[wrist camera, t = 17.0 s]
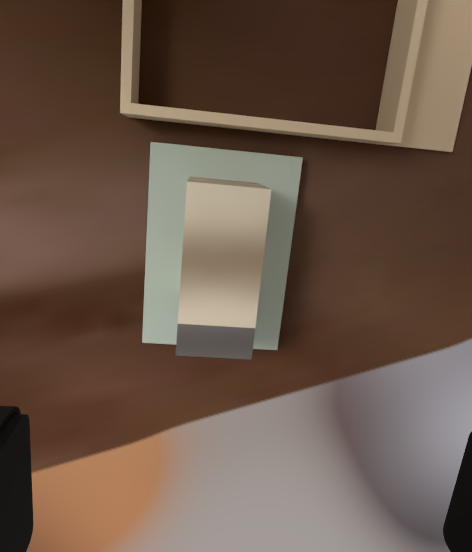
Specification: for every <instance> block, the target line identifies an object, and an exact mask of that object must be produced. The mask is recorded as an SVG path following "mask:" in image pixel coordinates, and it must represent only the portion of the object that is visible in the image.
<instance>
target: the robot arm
mask: <svg viewBox="0 0 472 552" xmlns="http://www.w3.org/2000/svg"><path fill="white" fill-rule="evenodd" d="M32 531H33V505H32V478H31V451H30V425H29V417H28V415H23V414H21V413H20V410H19V408H18V407H15V406H0V552H26V550H27V548H28V545H29V543H30V540H31V535H32ZM443 534H444V539H445V542H446V544H447V546H448V548H449V550H450V551H451V552H472V432H471V433H470V435H469V438H468V442H467V445H466V449H465V452H464V456H463V459H462V463H461V466H460V470H459V473H458V477H457V481H456V484H455V488H454V491H453V495H452V498H451V502H450V505H449V509H448V512H447V516H446V519H445V523H444V527H443Z"/></svg>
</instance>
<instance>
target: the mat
mask: <svg viewBox="0 0 472 552" xmlns="http://www.w3.org/2000/svg"><path fill="white" fill-rule="evenodd" d="M302 161H303V157H293V156H283V155H274V154H264V153H254V152H244V151H235V150H225V149H215V148H205V147H196V146H186V145H176V144H166V143H157V142H151V145H150V169H149V193H148V217H147V240H146V264H145V288H144V312H143V335H142V343H158V344H176V342H177V327H178V311H179V296H180V281H181V265H182V250H183V235H184V220H185V204H186V189H187V181H188V179H189V177H190V176H192V177H202V178H213V179H223V180H233V181H244V182H254V183H259V184H261V185H263V186H265V187H267V188H270V189H272V190H271V198H270V207H269V215H268V224H267V232H266V241H265V249H264V258H263V266H262V275H261V283H260V292H259V301H258V309H257V318H256V326H255V335H254V343H253V349H267V350H277V348H278V341H279V333H280V326H281V318H282V311H283V303H284V296H285V288H286V281H287V273H288V266H289V258H290V251H291V243H292V236H293V228H294V221H295V213H296V206H297V198H298V191H299V183H300V176H301V168H302Z"/></svg>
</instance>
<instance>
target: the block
mask: <svg viewBox="0 0 472 552" xmlns="http://www.w3.org/2000/svg"><path fill="white" fill-rule="evenodd" d="M271 190H272V189H270V188H267V187H265V186H263V185H261V184H259V183H254V182H244V181H233V180H223V179H213V178H202V177H192V176H190V177H189V179H188V181H187V189H186V204H185V220H184V235H183V250H182V265H181V281H180V296H179V311H178V327H177V342H176V355H177V356H196V357H215V358H234V359H252V352H253V343H254V335H255V326H256V318H257V309H258V301H259V292H260V283H261V275H262V266H263V258H264V249H265V241H266V232H267V224H268V215H269V207H270V198H271Z"/></svg>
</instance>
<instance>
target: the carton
mask: <svg viewBox="0 0 472 552" xmlns="http://www.w3.org/2000/svg"><path fill="white" fill-rule="evenodd" d="M141 10H142V0H123V8H122V51H121V93H120V113H121V114H123V115H125V116H127V117H129V118H139V119H148V120H157V121H166V122H176V123H185V124H194V125H203V126H213V127H222V128H231V129H240V130H250V131H259V132H268V133H277V134H287V135H296V136H305V137H315V138H324V139H333V140H342V141H352V142H361V143H370V144H379V145H389V146H398V147H407V148H416V149H426V150H435V151H444V152H453V147H454V143H455V138H456V134H457V129H458V125H459V120H460V116H461V111H462V107H463V102H464V98H465V93H466V89H467V84H468V80H469V75H470V71H471V66H472V0H398V3H397V8H396V14H395V20H394V26H393V31H392V37H391V43H390V49H389V55H388V60H387V66H386V72H385V78H384V83H383V89H382V95H381V101H380V106H379V112H378V118H377V124H376V129H375V130H368V129H359V128H350V127H341V126H332V125H323V124H314V123H305V122H296V121H287V120H278V119H269V118H261V117H252V116H243V115H234V114H225V113H216V112H207V111H198V110H189V109H180V108H171V107H162V106H153V105H144V104H138V98H139V69H140V40H141Z"/></svg>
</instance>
